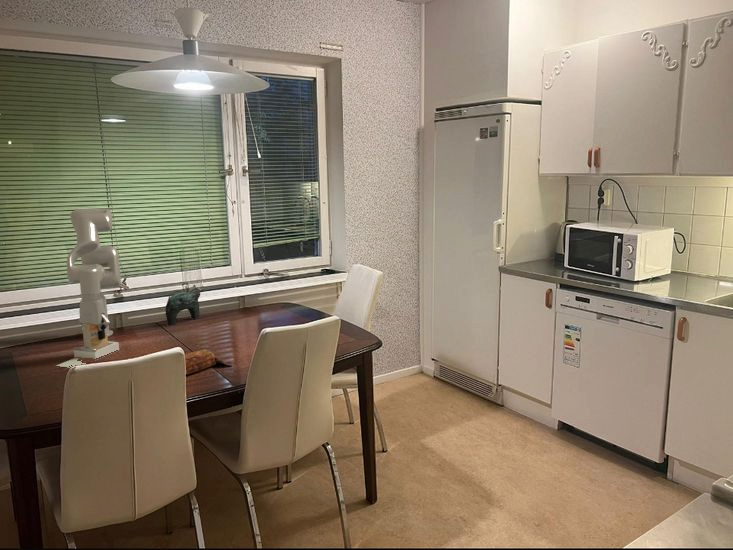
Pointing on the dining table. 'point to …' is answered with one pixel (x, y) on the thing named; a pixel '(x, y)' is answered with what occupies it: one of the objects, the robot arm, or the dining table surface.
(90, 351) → the white shallow tray
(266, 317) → the dining table surface
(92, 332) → the supplement box
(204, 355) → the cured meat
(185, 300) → the green horse figurine
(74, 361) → the mat
